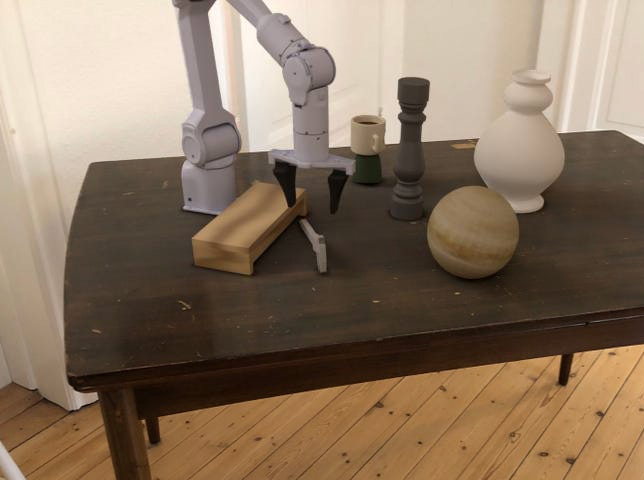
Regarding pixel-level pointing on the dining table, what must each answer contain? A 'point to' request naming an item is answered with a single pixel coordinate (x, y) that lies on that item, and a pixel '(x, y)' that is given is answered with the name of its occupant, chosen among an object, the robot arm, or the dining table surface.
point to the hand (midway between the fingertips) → (312, 208)
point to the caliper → (316, 244)
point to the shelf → (246, 228)
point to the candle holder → (410, 149)
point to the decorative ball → (473, 232)
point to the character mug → (367, 147)
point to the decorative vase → (522, 144)
